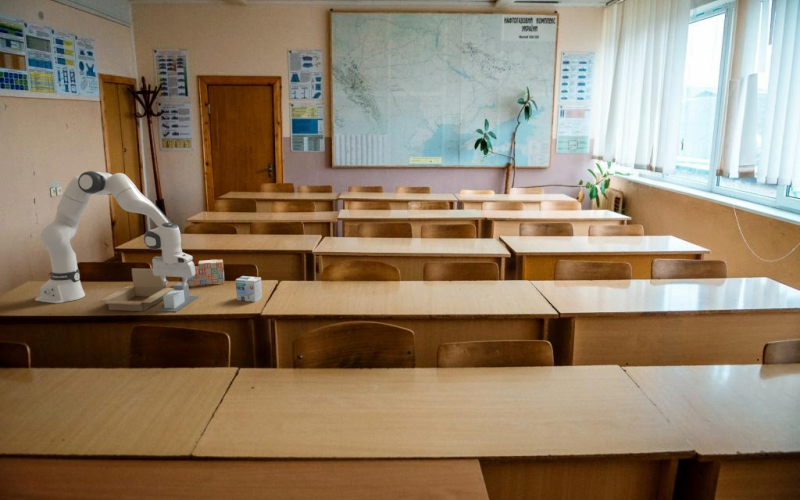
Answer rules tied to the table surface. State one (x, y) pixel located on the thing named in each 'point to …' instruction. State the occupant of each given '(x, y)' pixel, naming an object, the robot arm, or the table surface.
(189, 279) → the stack of blocks
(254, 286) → the light bulb box
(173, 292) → the box
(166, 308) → the mat
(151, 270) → the carton
